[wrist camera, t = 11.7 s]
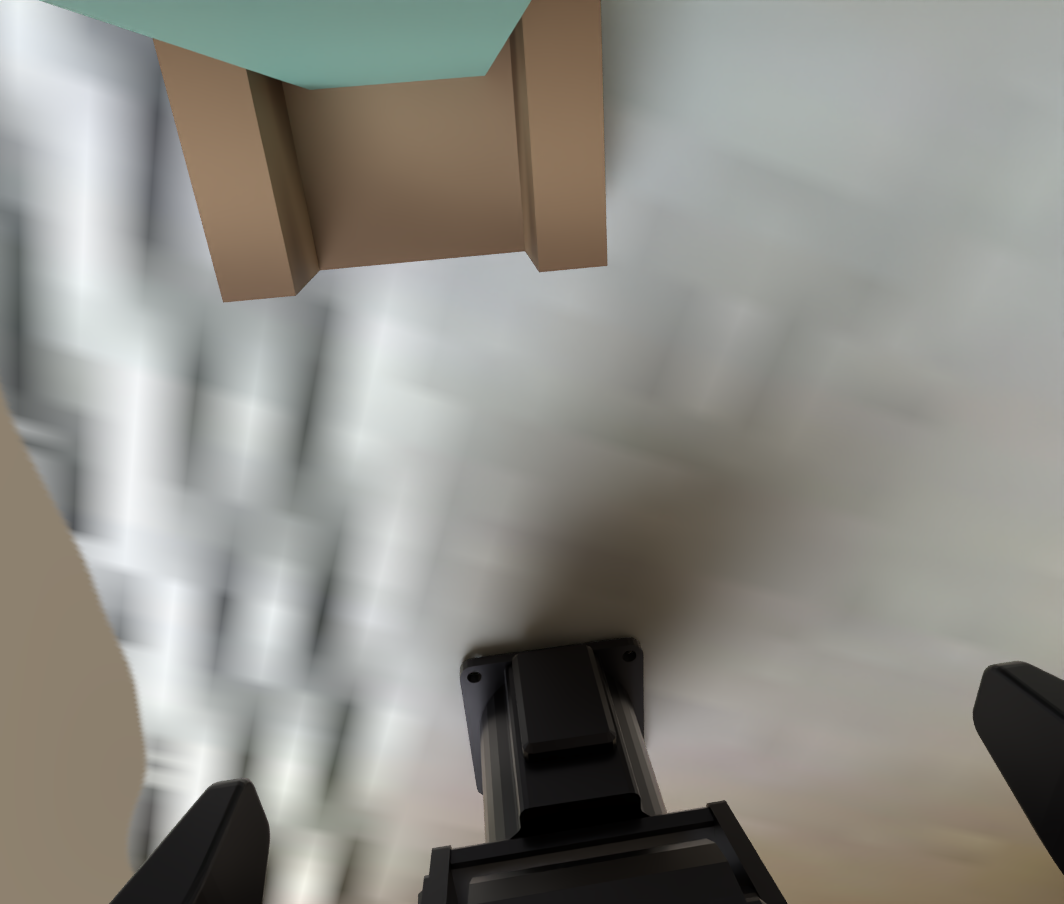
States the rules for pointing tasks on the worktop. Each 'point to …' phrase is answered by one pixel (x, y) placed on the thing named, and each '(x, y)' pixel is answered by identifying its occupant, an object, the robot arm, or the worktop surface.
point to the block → (326, 35)
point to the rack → (399, 160)
